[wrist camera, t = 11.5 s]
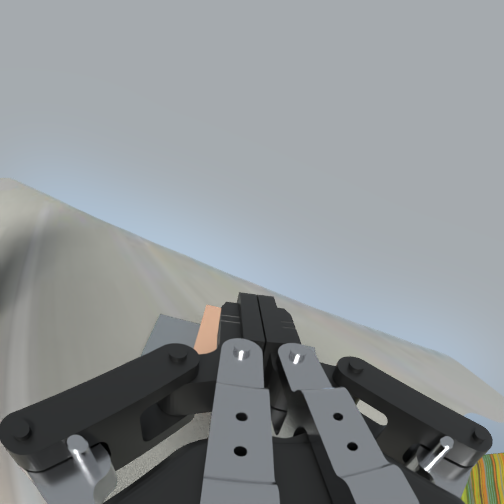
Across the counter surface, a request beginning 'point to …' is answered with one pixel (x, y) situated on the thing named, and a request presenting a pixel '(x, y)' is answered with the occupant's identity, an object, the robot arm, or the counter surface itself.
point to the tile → (208, 330)
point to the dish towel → (486, 481)
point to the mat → (174, 333)
